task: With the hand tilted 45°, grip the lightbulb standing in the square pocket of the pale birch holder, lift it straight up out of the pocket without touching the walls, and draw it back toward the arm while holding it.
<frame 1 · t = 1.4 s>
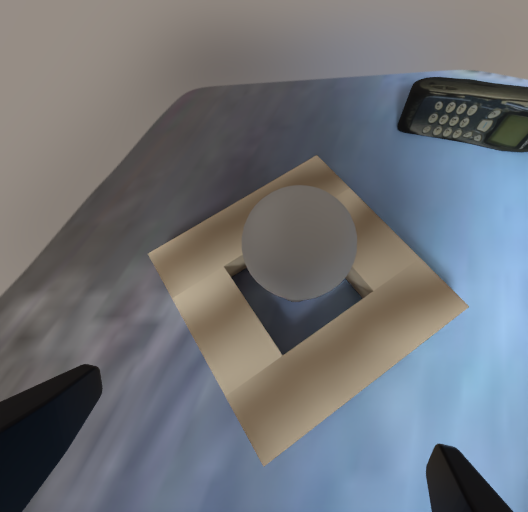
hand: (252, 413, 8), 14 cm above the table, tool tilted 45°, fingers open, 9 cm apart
lightbulb: (295, 290, 24), resting in birch holder
birch holder: (295, 289, 23), on the table
mobile phone: (477, 139, 29), on the table
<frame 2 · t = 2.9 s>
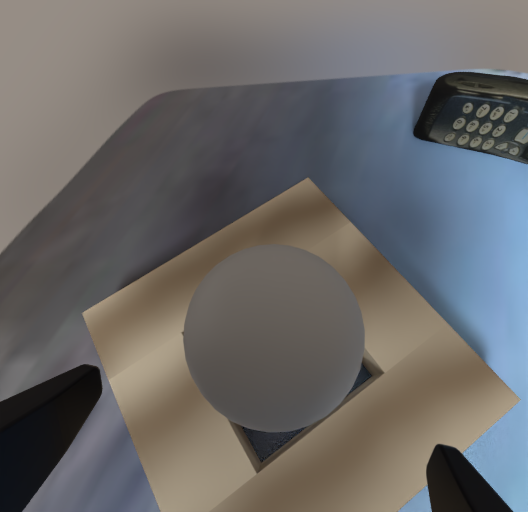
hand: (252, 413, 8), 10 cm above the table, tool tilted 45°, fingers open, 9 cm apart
lightbulb: (279, 357, 18), resting in birch holder
birch holder: (279, 357, 18), on the table
mobile phone: (512, 153, 23), on the table
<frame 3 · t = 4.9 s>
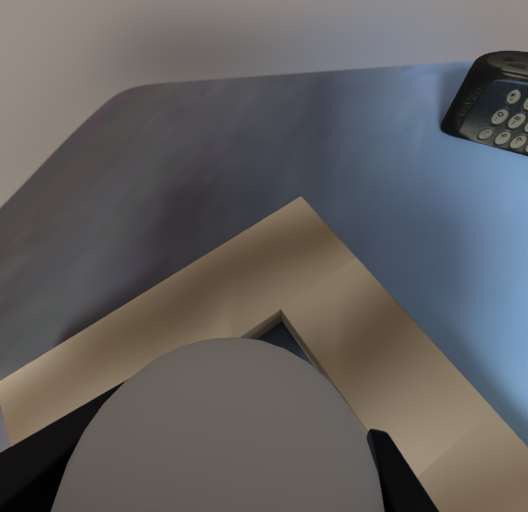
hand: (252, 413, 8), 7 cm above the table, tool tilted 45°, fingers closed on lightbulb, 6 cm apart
lightbulb: (262, 438, 14), resting in birch holder, touching gripper
birch holder: (261, 439, 13), on the table
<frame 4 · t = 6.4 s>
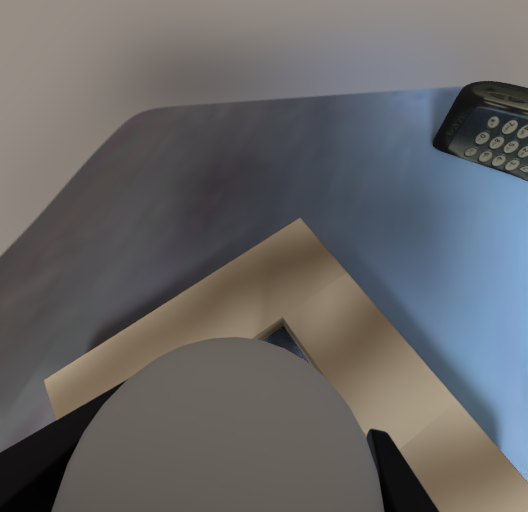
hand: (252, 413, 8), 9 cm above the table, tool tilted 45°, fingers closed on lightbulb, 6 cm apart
lightbulb: (262, 436, 14), point 2 cm above the table, touching gripper
birch holder: (266, 426, 16), on the table
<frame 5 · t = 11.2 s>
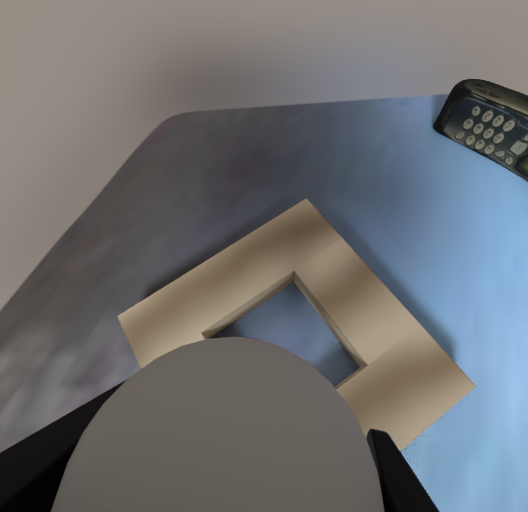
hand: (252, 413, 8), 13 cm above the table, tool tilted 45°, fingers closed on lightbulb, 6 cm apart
lightbulb: (262, 436, 14), point 6 cm above the table, touching gripper
birch holder: (281, 352, 21), on the table
mobile phone: (512, 165, 26), on the table
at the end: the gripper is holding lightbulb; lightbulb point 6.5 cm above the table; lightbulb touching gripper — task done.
